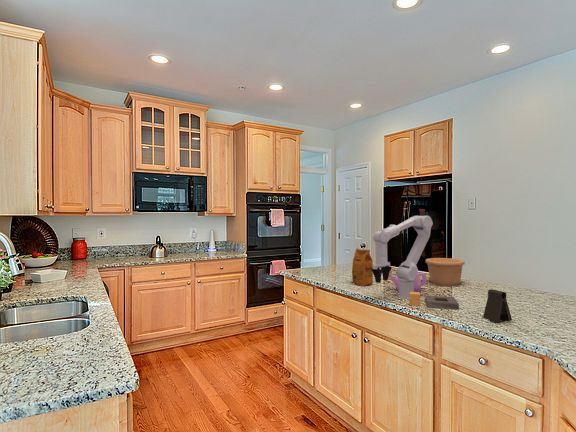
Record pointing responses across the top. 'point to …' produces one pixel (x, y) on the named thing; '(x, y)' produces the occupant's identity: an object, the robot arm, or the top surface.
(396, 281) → the teakettle
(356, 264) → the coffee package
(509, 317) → the phone stand
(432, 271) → the pottery
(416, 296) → the orange block
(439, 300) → the pocket holder
